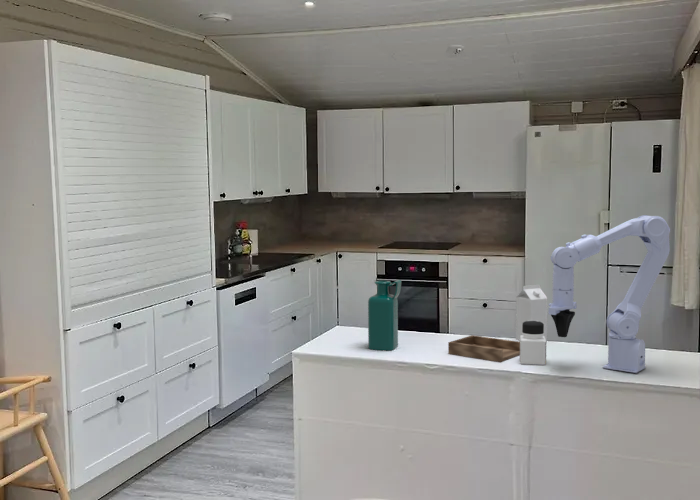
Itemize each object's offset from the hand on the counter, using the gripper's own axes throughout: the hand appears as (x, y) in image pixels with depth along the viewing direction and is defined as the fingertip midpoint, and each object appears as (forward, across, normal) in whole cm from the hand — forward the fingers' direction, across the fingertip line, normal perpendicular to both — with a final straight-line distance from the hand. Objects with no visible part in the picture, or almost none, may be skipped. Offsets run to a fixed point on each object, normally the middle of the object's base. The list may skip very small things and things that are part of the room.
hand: (562, 336), depth 200 cm
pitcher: (+9, +13, -54) cm, 56 cm away
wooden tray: (+8, 0, -25) cm, 26 cm away
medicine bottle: (+9, +1, -9) cm, 12 cm away
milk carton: (+9, -24, -22) cm, 34 cm away
